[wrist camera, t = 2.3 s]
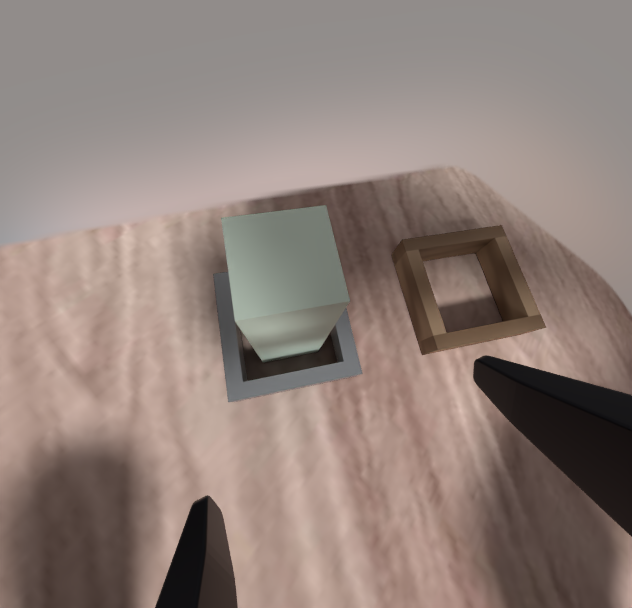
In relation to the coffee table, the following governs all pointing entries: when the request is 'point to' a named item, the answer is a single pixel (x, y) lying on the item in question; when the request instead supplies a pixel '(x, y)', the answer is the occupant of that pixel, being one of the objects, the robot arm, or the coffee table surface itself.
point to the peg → (284, 280)
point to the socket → (279, 383)
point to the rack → (500, 276)
